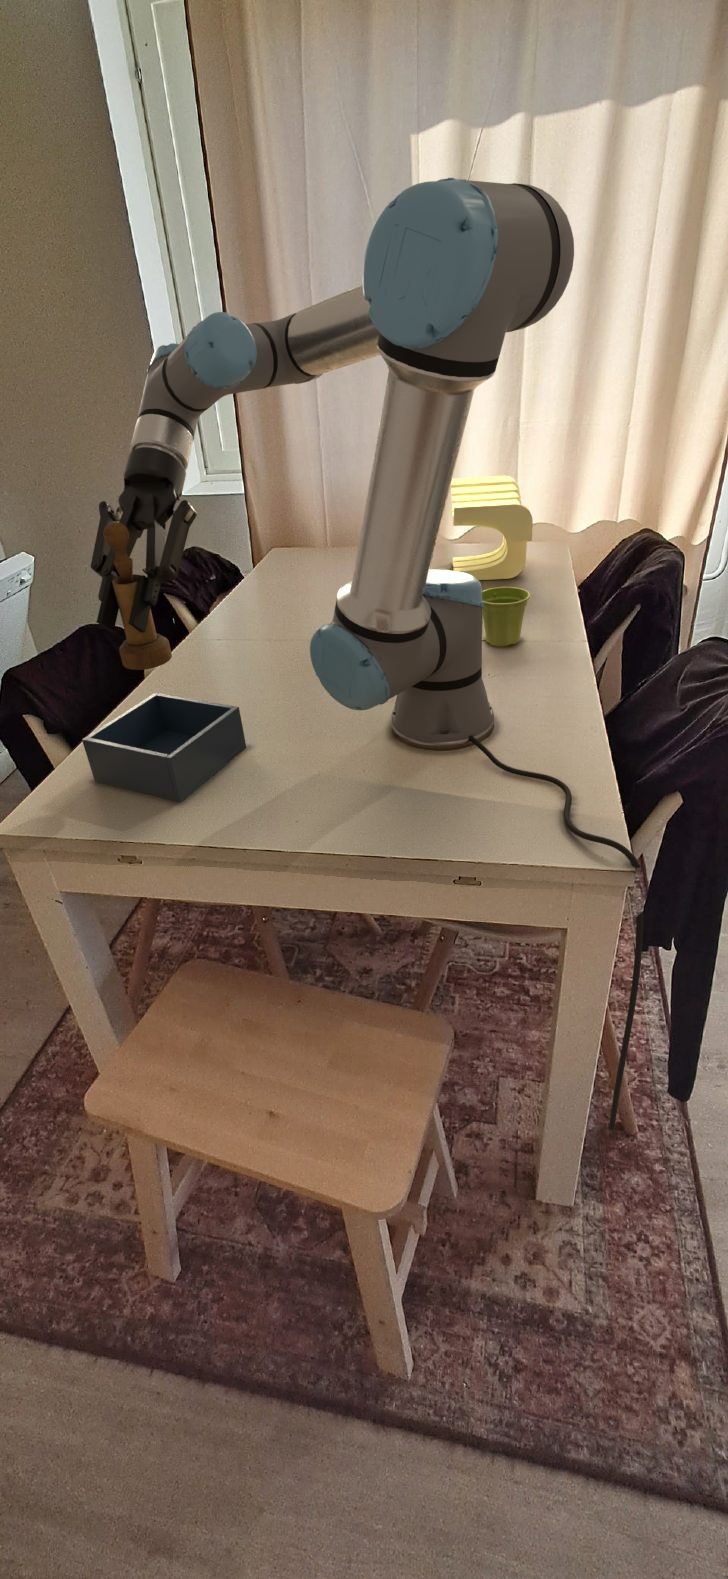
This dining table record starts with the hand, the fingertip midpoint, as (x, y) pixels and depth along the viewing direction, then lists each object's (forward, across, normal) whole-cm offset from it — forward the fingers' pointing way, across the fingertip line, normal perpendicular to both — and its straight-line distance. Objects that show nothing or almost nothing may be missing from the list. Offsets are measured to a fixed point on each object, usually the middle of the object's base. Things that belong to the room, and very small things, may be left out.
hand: (121, 627), depth 97 cm
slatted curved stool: (-53, -31, -85) cm, 105 cm away
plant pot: (-23, -40, -55) cm, 72 cm away
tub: (+13, 0, -18) cm, 23 cm away
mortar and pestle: (+2, 0, -7) cm, 7 cm away
